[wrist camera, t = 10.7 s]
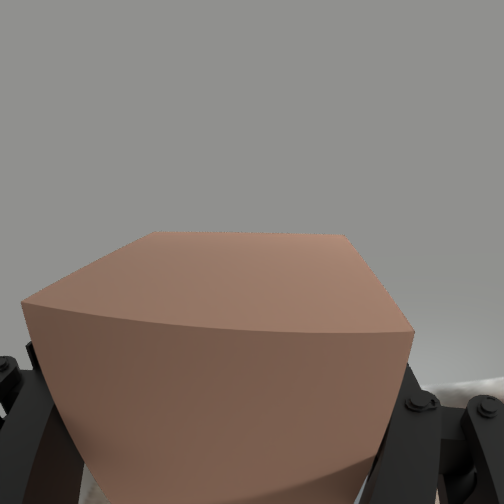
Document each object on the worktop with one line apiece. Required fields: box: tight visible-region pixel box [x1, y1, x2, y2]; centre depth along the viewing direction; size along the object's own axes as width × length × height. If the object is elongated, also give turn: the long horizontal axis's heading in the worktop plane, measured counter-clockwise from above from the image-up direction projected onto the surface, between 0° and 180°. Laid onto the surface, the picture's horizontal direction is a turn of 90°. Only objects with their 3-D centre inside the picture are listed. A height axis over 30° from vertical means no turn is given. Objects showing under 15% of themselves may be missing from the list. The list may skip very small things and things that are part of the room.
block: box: [21, 232, 415, 504], centre depth 9 cm, size 7×7×10 cm
